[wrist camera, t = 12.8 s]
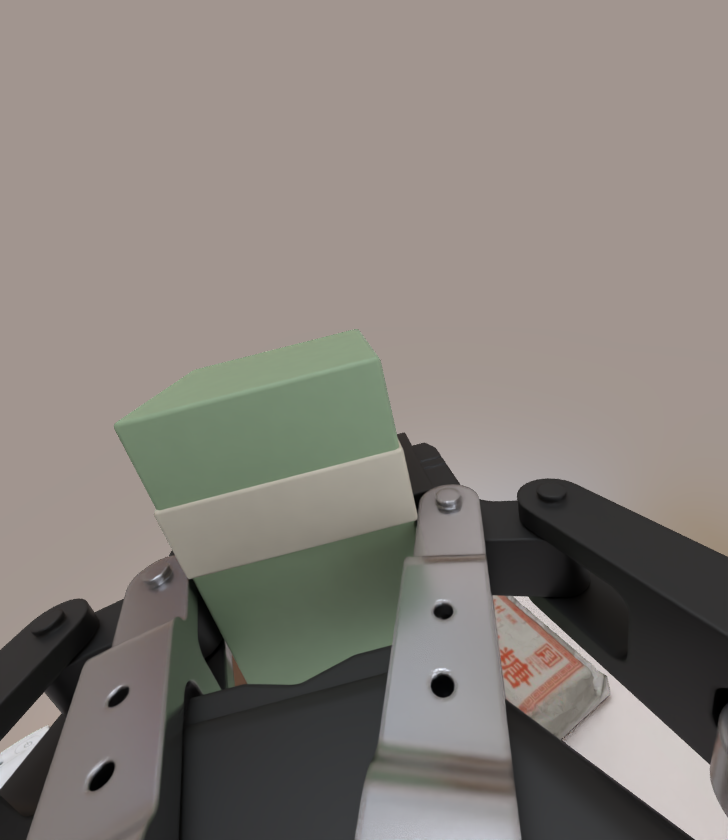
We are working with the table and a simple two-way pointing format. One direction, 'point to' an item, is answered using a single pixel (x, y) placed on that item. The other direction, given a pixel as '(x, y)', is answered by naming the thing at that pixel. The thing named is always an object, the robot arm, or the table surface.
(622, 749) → the table surface
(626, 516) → the robot arm
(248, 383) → the box
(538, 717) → the packaged product
